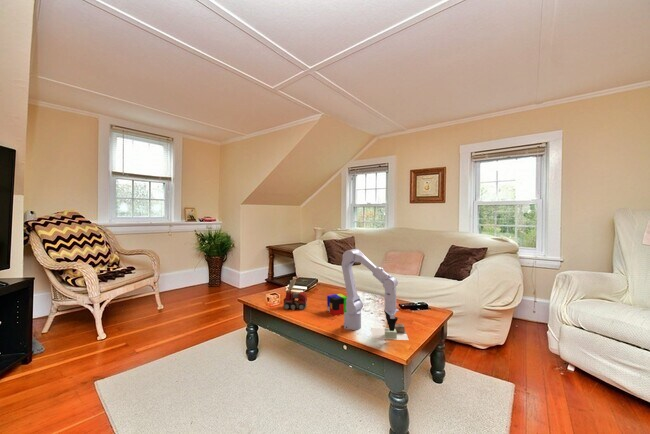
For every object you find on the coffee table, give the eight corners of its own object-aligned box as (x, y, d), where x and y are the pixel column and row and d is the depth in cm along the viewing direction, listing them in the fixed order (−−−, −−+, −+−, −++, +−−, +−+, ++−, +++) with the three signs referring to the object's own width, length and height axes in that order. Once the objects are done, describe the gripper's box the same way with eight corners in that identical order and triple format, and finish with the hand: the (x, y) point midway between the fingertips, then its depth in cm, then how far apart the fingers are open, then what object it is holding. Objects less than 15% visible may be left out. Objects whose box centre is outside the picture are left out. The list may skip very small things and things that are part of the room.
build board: (372, 340, 137) (372, 338, 137) (370, 329, 150) (370, 327, 150) (408, 342, 135) (408, 339, 135) (404, 330, 148) (404, 328, 148)
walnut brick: (393, 332, 144) (393, 326, 144) (392, 328, 148) (392, 323, 148) (404, 332, 143) (404, 327, 143) (403, 329, 147) (403, 323, 147)
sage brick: (385, 337, 138) (385, 331, 138) (384, 334, 142) (384, 328, 142) (396, 338, 137) (396, 332, 137) (395, 334, 141) (395, 328, 141)
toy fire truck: (305, 310, 181) (305, 283, 181) (282, 309, 183) (282, 283, 182) (308, 304, 192) (308, 279, 192) (287, 304, 194) (286, 279, 194)
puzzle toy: (327, 310, 180) (327, 295, 179) (340, 308, 184) (340, 293, 184) (334, 315, 171) (334, 300, 170) (348, 313, 175) (348, 297, 175)
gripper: (400, 306, 132) (401, 334, 132) (396, 296, 146) (396, 322, 146) (385, 305, 133) (386, 333, 133) (383, 296, 147) (383, 321, 147)
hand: (390, 327), depth 140 cm, fingers open, 7 cm apart
